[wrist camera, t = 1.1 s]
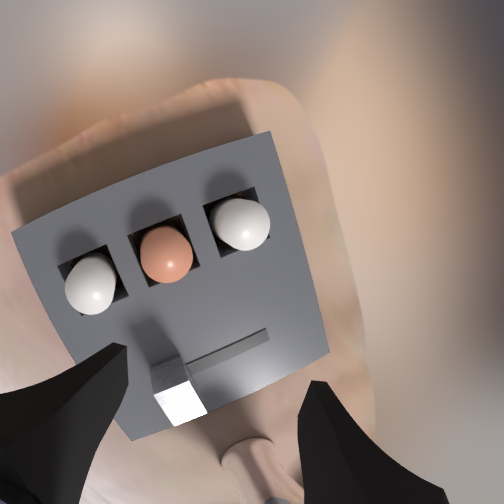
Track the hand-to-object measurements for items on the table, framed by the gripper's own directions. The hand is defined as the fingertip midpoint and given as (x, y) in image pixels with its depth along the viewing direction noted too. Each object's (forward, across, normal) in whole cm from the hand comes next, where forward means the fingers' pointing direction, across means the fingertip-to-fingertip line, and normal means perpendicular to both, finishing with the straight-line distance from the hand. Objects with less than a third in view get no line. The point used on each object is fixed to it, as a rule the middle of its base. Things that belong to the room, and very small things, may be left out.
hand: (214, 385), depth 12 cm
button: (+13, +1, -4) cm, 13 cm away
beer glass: (+12, -4, +21) cm, 25 cm away
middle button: (+11, +5, -1) cm, 12 cm away
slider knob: (+8, +3, +7) cm, 11 cm away
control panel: (+12, +4, +2) cm, 13 cm away
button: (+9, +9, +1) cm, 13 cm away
